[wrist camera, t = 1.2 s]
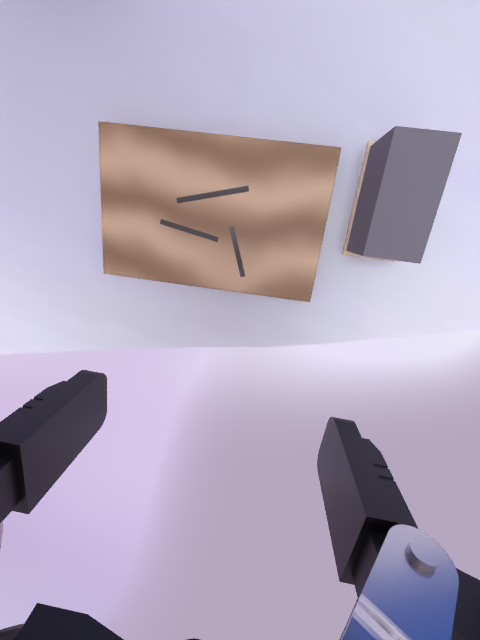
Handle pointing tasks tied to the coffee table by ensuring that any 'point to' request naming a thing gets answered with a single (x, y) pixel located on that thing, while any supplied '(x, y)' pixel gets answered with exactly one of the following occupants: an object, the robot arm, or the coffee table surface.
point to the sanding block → (400, 193)
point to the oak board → (214, 209)
